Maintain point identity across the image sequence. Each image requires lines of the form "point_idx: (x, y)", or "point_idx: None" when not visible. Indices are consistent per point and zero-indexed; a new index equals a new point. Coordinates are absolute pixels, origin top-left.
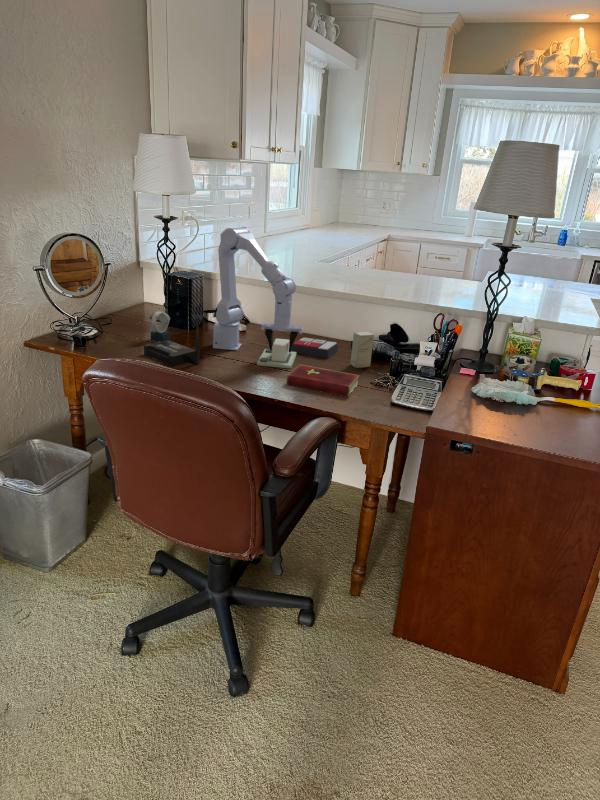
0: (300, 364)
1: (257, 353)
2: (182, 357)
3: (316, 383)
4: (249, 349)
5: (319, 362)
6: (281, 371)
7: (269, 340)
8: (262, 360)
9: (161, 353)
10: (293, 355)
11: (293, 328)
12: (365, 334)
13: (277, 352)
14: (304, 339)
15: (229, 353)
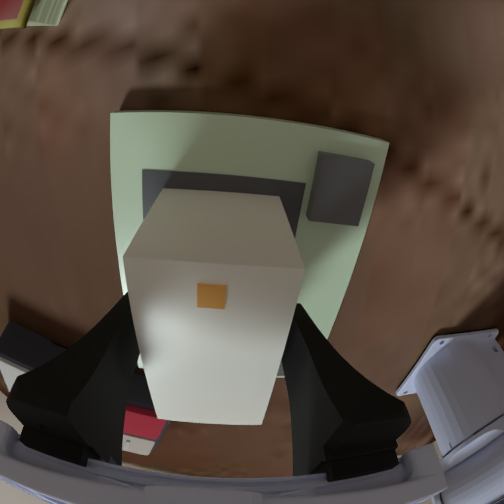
0: (16, 25)
1: (350, 335)
2: None
3: None
4: (376, 366)
5: (11, 272)
6: (186, 28)
7: (333, 363)
8: (355, 160)
9: None
10: None
11: (34, 489)
12: None
13: (232, 226)
14: (135, 445)
15: (469, 299)
